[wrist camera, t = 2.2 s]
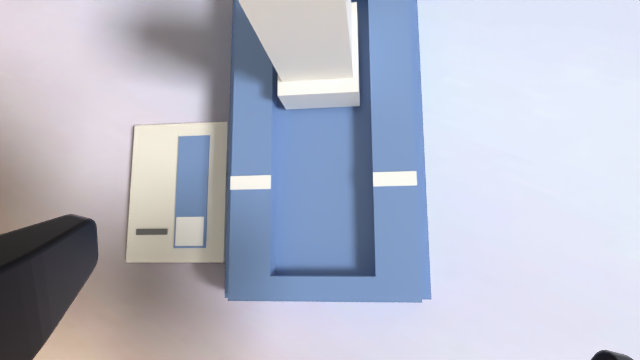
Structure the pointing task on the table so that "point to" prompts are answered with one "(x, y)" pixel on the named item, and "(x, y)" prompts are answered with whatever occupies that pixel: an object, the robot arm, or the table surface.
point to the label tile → (179, 193)
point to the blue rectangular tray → (329, 175)
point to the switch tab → (310, 49)
